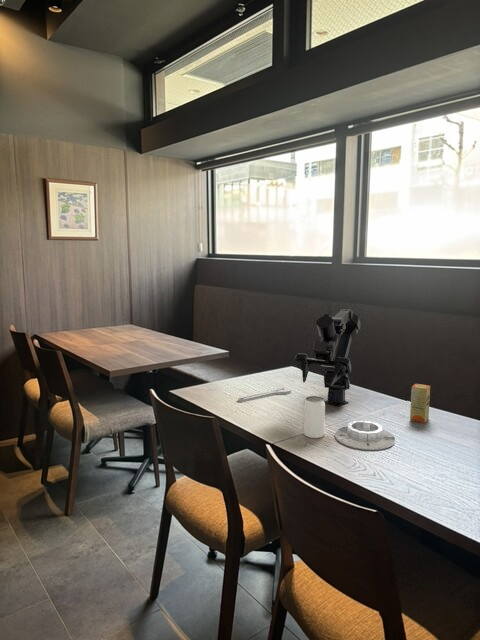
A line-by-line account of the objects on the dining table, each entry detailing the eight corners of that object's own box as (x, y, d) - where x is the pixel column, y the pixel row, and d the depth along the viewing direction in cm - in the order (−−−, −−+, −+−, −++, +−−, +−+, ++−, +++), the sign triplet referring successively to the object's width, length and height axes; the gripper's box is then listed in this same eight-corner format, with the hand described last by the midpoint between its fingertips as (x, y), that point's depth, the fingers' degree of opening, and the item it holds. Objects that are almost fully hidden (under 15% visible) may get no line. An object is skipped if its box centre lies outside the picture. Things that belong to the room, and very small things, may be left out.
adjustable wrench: (240, 404, 183) (240, 399, 183) (232, 399, 189) (232, 395, 189) (293, 394, 195) (293, 389, 195) (284, 390, 200) (284, 386, 200)
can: (302, 431, 154) (302, 395, 152) (321, 430, 155) (322, 395, 153) (306, 439, 148) (307, 402, 146) (326, 438, 148) (327, 401, 146)
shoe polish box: (409, 420, 163) (411, 386, 161) (413, 416, 167) (415, 383, 165) (424, 423, 160) (426, 389, 158) (428, 419, 164) (430, 385, 162)
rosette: (359, 423, 160) (359, 412, 160) (406, 439, 147) (407, 428, 146) (323, 436, 149) (323, 425, 149) (371, 455, 135) (371, 443, 135)
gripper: (297, 330, 164) (285, 366, 155) (351, 334, 156) (341, 372, 147) (303, 350, 172) (292, 385, 163) (355, 354, 163) (346, 392, 154)
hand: (316, 383), depth 156 cm, fingers open, 9 cm apart
